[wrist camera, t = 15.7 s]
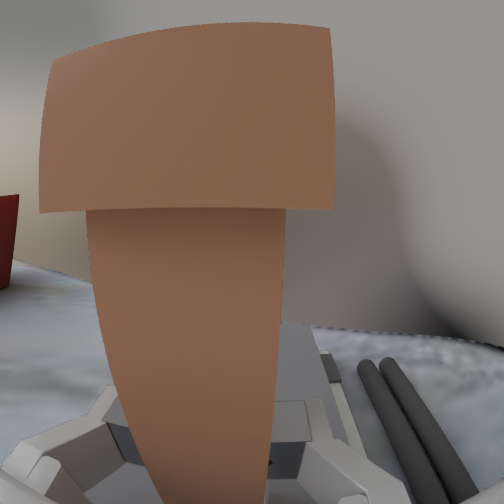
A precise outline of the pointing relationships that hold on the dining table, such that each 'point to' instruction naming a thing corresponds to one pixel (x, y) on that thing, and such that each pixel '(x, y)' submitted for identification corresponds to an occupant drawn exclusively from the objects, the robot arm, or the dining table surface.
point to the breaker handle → (193, 228)
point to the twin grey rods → (405, 442)
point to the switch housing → (287, 388)
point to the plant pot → (7, 235)
